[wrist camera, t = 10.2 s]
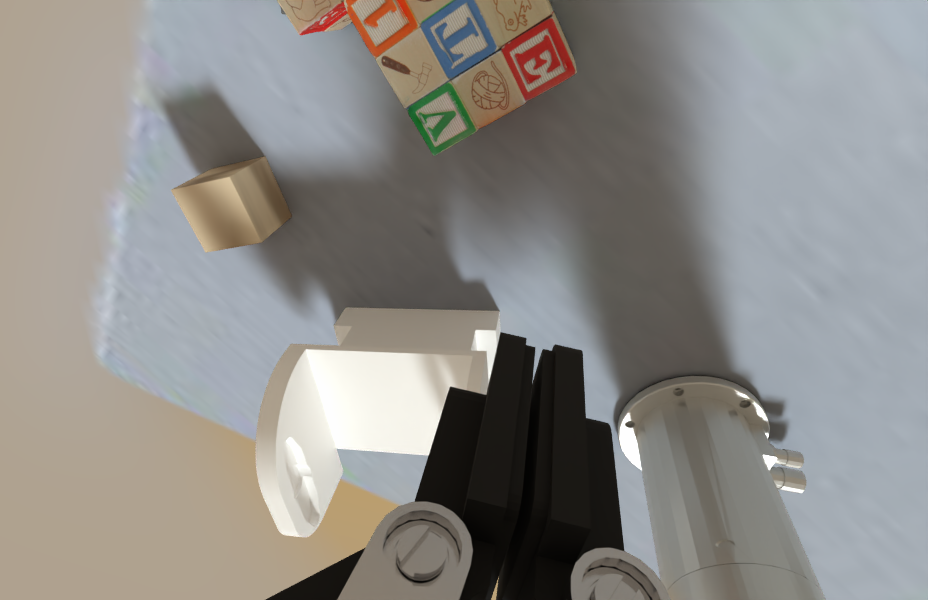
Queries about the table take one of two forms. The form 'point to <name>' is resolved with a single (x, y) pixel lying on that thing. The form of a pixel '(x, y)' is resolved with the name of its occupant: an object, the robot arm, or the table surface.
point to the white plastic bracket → (363, 399)
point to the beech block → (233, 204)
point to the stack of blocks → (452, 55)
